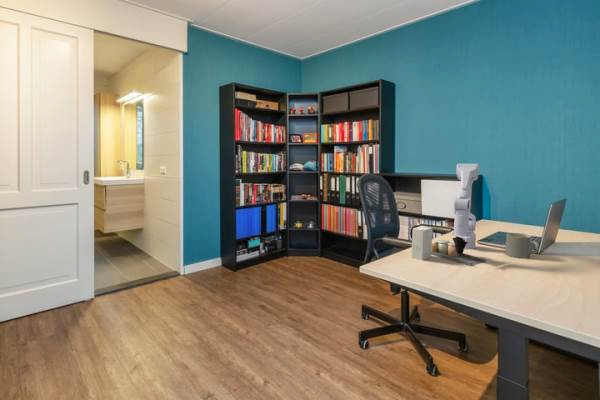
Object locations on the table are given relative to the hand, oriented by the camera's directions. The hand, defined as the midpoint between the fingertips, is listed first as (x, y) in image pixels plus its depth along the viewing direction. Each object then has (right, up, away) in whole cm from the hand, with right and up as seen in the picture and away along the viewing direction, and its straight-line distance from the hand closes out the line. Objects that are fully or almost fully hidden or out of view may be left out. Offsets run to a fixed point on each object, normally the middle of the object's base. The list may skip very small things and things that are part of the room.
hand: (459, 253), depth 153 cm
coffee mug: (+32, -2, +5) cm, 32 cm away
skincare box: (-17, -3, +2) cm, 17 cm away
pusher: (-6, -2, +11) cm, 13 cm away
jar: (-1, -2, +4) cm, 5 cm away
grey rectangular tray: (-2, -3, +4) cm, 5 cm away
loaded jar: (-4, -1, +9) cm, 9 cm away
